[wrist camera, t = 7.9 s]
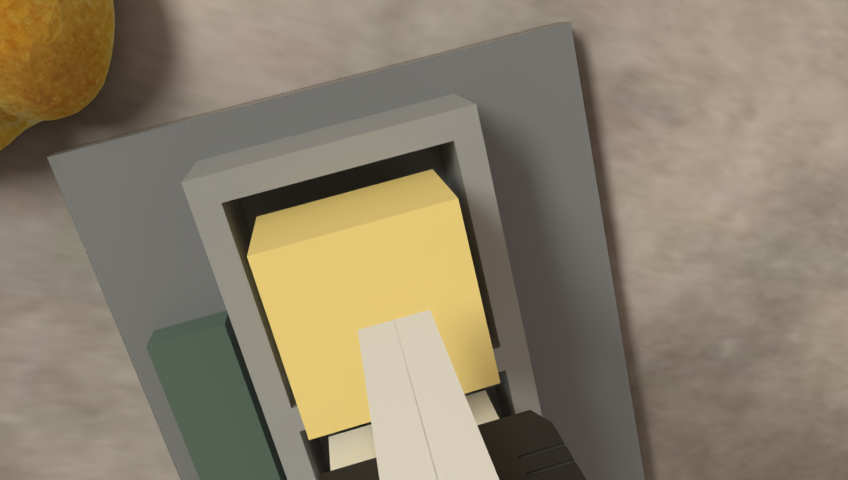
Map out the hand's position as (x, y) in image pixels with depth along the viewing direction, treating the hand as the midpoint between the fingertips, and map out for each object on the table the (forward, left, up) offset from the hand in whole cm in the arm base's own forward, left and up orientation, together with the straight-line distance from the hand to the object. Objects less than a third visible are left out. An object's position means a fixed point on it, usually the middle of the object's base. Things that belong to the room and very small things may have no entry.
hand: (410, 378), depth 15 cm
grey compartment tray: (0, -11, -10) cm, 15 cm away
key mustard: (0, 0, -6) cm, 6 cm away
